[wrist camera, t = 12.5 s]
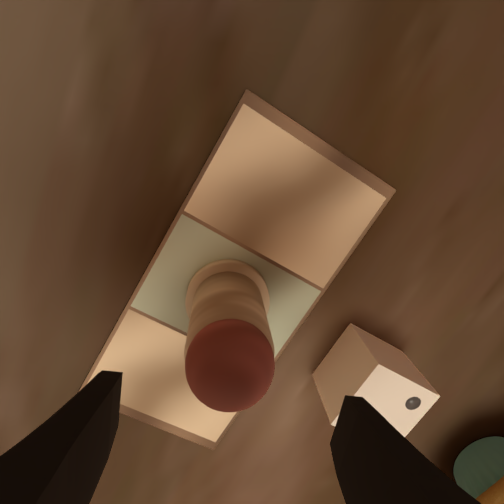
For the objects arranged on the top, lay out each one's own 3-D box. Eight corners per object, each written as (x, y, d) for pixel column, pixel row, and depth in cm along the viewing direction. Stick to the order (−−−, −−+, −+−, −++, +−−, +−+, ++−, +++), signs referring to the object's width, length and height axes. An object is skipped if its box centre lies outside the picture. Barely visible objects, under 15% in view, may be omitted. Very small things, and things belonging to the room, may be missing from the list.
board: (395, 189, 18) (396, 190, 18) (213, 448, 22) (213, 450, 22) (246, 89, 16) (246, 88, 16) (77, 394, 20) (76, 395, 20)
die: (401, 350, 21) (440, 396, 18) (363, 398, 22) (391, 452, 18) (349, 322, 21) (378, 364, 17) (311, 373, 21) (330, 424, 18)
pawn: (275, 266, 19) (309, 345, 12) (259, 337, 20) (279, 451, 13) (193, 252, 18) (174, 327, 11) (181, 327, 19) (156, 439, 12)
